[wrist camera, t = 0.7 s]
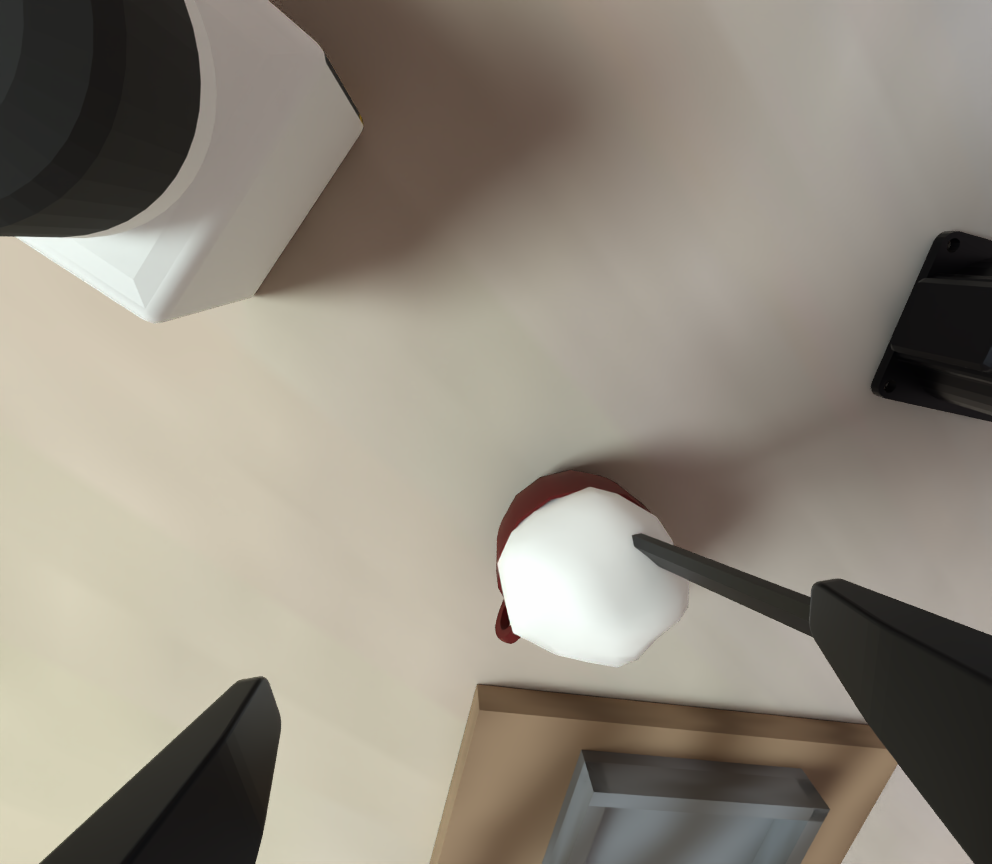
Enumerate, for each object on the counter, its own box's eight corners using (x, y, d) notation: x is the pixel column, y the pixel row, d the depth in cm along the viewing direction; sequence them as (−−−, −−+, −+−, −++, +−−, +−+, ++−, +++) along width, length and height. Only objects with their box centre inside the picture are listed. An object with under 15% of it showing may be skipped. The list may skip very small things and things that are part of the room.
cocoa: (505, 609, 25) (552, 929, 14) (437, 502, 23) (428, 784, 11) (700, 518, 24) (919, 784, 13) (650, 397, 22) (864, 594, 11)
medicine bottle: (369, 124, 18) (256, -86, 7) (252, 302, 19) (-11, 382, 8) (161, -53, 16) (-517, -793, 5) (46, 158, 17) (-696, -7, 6)
